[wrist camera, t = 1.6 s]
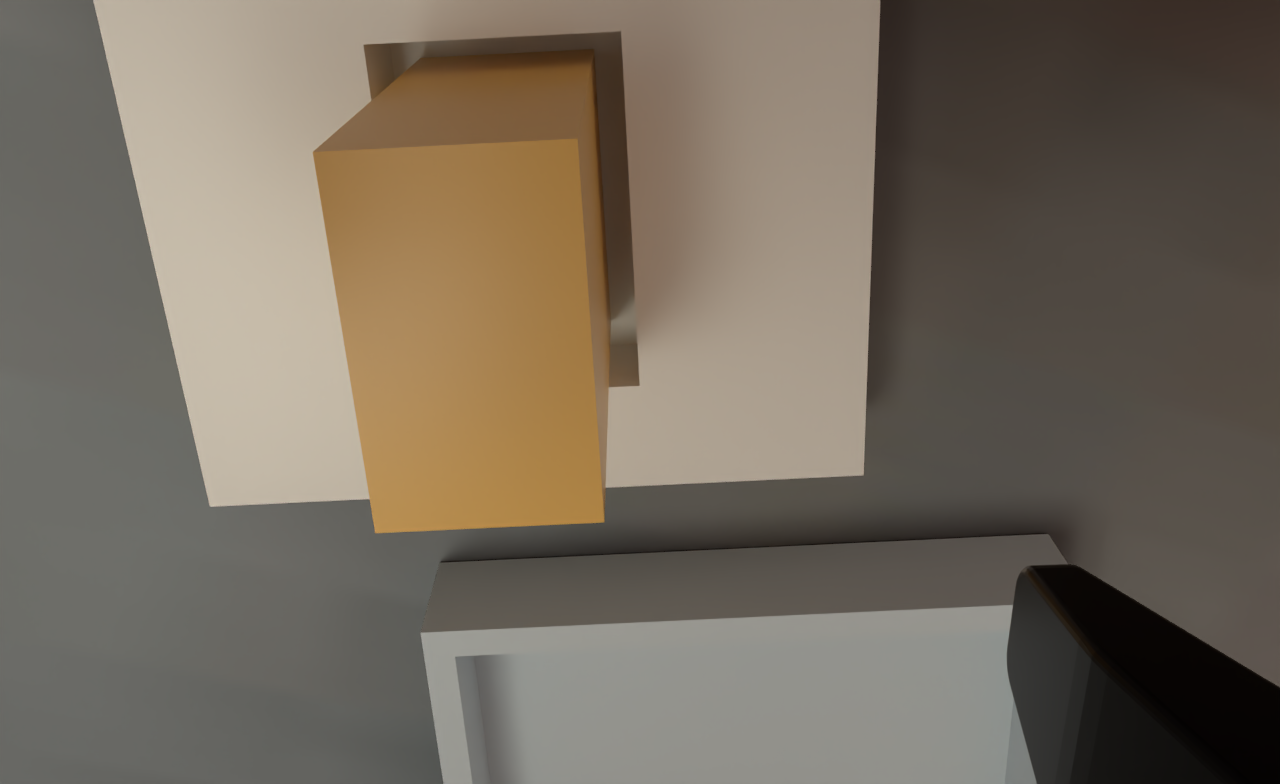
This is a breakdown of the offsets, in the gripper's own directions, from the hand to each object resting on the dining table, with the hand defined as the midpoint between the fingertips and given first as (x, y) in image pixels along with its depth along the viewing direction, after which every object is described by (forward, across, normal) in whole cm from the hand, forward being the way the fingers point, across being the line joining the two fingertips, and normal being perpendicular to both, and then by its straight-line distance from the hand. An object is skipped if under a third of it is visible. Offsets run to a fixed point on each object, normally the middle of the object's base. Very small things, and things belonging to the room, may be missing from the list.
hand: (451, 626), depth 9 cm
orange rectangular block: (+13, +1, 0) cm, 13 cm away
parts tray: (+13, -4, +14) cm, 20 cm away
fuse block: (+13, +1, 0) cm, 13 cm away
